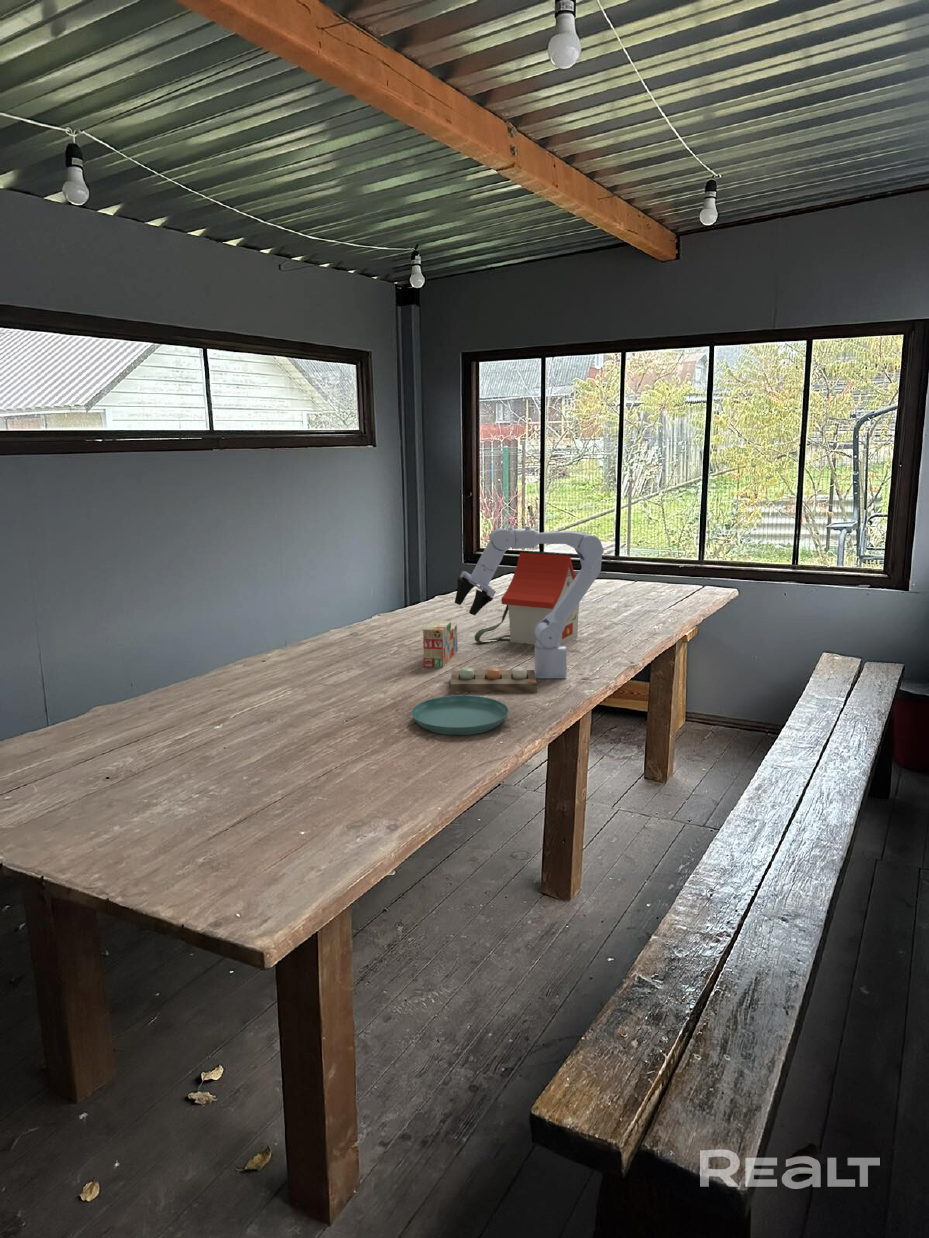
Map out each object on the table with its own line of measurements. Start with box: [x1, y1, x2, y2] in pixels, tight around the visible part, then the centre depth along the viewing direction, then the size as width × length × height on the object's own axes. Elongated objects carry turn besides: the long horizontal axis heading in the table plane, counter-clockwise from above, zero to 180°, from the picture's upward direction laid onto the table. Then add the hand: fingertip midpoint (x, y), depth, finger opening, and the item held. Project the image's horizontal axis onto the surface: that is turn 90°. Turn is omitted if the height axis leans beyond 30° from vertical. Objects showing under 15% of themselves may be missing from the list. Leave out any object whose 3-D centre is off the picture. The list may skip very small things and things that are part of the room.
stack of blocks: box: [422, 620, 458, 668], centre depth 269 cm, size 21×6×12 cm, turn 168°
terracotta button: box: [485, 667, 501, 679], centre depth 240 cm, size 4×4×3 cm
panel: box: [450, 669, 538, 693], centre depth 240 cm, size 24×14×3 cm, turn 89°
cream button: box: [512, 666, 528, 679], centre depth 239 cm, size 4×4×3 cm
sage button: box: [459, 667, 475, 679], centre depth 240 cm, size 4×4×3 cm
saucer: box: [410, 694, 509, 736], centre depth 210 cm, size 24×24×3 cm
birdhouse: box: [474, 552, 580, 646], centre depth 294 cm, size 36×30×30 cm
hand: (464, 609), depth 243 cm, fingers open, 7 cm apart
